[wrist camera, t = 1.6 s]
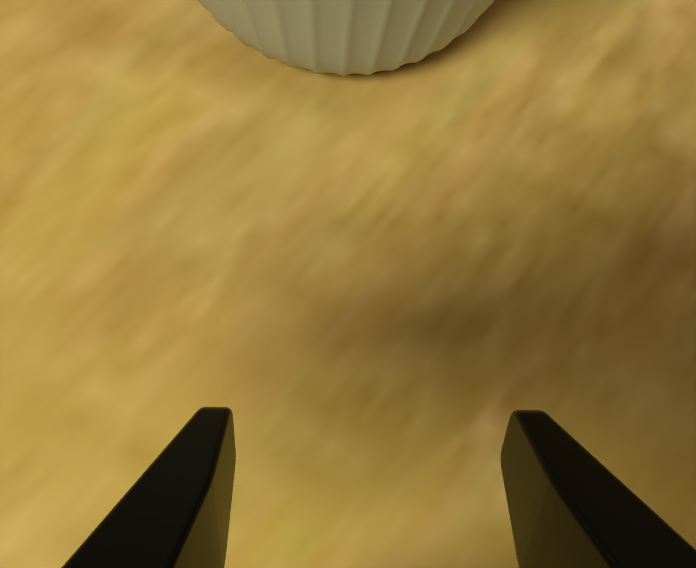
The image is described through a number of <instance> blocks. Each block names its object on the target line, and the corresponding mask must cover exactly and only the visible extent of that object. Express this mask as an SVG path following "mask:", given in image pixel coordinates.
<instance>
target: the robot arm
mask: <svg viewBox="0 0 696 568" xmlns="http://www.w3.org/2000/svg"><path fill="white" fill-rule="evenodd" d="M235 460H236V450H235V437H234V425H233V414H232V411H231V409H229V408H228V407H203V408H201V409H199V410H198V411H197V412H196V413H195V414H194V416H193V417H192V418H191V419H190V420H189V421H188V422H187V424H186V425H185V426H184V427H183V428H182V429H181V431H180V432H179V433H178V434H177V435H176V436H175V437H174V439H173V440H172V441H171V442H170V443H169V444H168V446H167V447H166V448H165V449H164V450H163V451H162V453H161V454H160V455H159V456H158V457H157V458H156V459H155V461H154V462H153V463H152V464H151V465H150V466H149V468H148V469H147V470H146V471H145V472H144V473H143V474H142V476H141V477H140V478H139V479H138V480H137V481H136V483H135V484H134V485H133V486H132V487H131V488H130V489H129V491H128V492H127V493H126V494H125V495H124V496H123V498H122V499H121V500H120V501H119V502H118V503H117V504H116V506H115V507H114V508H113V509H112V510H111V511H110V513H109V514H108V515H107V516H106V517H105V518H104V519H103V521H102V522H101V523H100V524H99V525H98V526H97V528H96V529H95V530H94V531H93V532H92V533H91V534H90V536H89V537H88V538H87V539H86V540H85V541H84V543H83V544H82V545H81V546H80V547H79V548H78V549H77V551H76V552H75V553H74V554H73V555H72V556H71V558H70V559H69V560H68V561H67V562H66V563H65V565H64V566H63V567H62V568H224V565H225V558H226V549H227V539H228V530H229V520H230V510H231V501H232V491H233V481H234V472H235ZM501 468H502V474H503V480H504V485H505V491H506V497H507V503H508V508H509V514H510V520H511V526H512V531H513V537H514V543H515V548H516V554H517V559H518V564H519V568H696V550H695V549H694V548H693V547H692V546H691V545H690V544H689V543H688V542H687V541H685V540H684V539H683V538H682V537H681V536H680V535H679V534H678V533H677V532H676V531H674V530H673V529H672V528H671V527H670V526H669V525H668V524H667V523H666V522H665V521H664V520H662V519H661V518H660V517H659V516H658V515H657V514H656V513H655V512H654V511H653V510H651V509H650V508H649V507H648V506H647V505H646V504H645V503H644V502H643V501H642V500H641V499H639V498H638V497H637V496H636V495H635V494H634V493H633V492H632V491H631V490H630V489H629V488H627V487H626V486H625V485H624V484H623V483H622V482H621V481H620V480H619V479H618V478H616V477H615V476H614V475H613V474H612V473H611V472H610V471H609V470H608V469H607V468H606V467H604V466H603V465H602V464H601V463H600V462H599V461H598V460H597V459H596V458H595V457H593V456H592V455H591V454H590V453H589V452H588V451H587V450H586V449H585V448H584V447H583V446H581V445H580V444H579V443H578V442H577V441H576V440H575V439H574V438H573V437H572V436H571V435H569V434H568V433H567V432H566V431H565V430H564V429H563V428H562V427H561V426H560V425H558V424H557V423H556V422H555V421H554V420H553V419H552V418H551V417H550V416H549V415H547V414H546V413H545V412H543V411H540V410H516V411H514V412H513V413H512V414H511V416H510V419H509V423H508V427H507V431H506V435H505V439H504V443H503V446H502V451H501Z"/></svg>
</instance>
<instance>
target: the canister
mask: <svg viewBox="0 0 696 568" xmlns="http://www.w3.org/2000/svg"><path fill="white" fill-rule="evenodd" d="M198 1H199V2H200V3H201V4H202V5H203V6H204V7H205V8H206V9H207V10H209V11H210V12H211V14H212V15H213V17H214V18H215V20H216V21H217V22H218V23H219V24H220V25H221V26H222V27H223V28H225V29H226V30H228V31H231V32H233V33H234V34H235V35H236V37H237V38H238V39H239V40H240V41H241V42H242V43H243V44H245V45H247V46H250V47H254V48H256V49H258V50H259V51H261V53H262V54H263V55H264V56H266V57H267V58H270V59H277V60H279V61H282V62H284V63H286V64H288V65H289V66H290V67H292V68H297V67H300V68H305V69H308V70H311V71H313V72H314V73H316V74H319V73H334V74H338V75H341V76H346V75H348V74H355V73H359V74H364V75H370V74H372V73H374V72H377V71H382V70H395V69H397V68H399V67H400V66H401V65H404V64H407V63H415V62H418V61H420V60H422V59H423V58H424V57H425V56H426V55H428V54H430V53H432V52H436V51H439V50H441V49H443V48H444V47H446V46H447V45H448V44H449V43H450V42H451V41H452V40H453V38H456V37H458V36H459V35H461V34H463V33H464V32H465V31H466V30H468V29H469V28H470V27H471V26H472V24H473V23H474V22H475V21H476V20H477V18H478V17H479V16H480V15H481V14H482V13H483V12H484V11H486V10H487V9H488V7H489V6H490V5H491V4H492V3H493V2H494V0H198Z"/></svg>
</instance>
